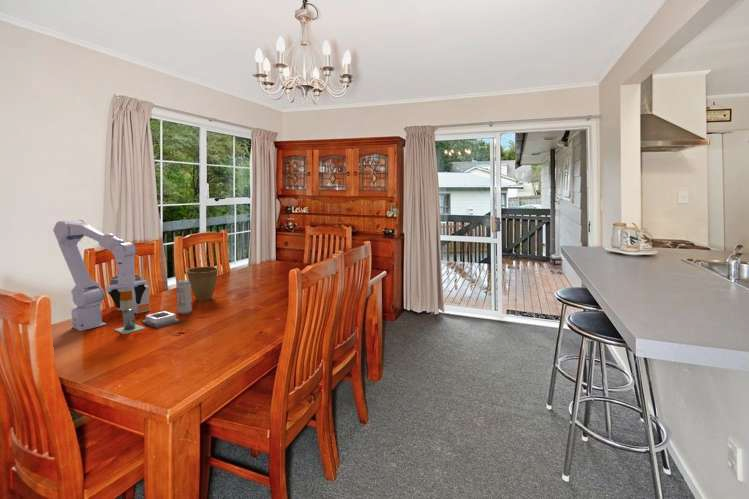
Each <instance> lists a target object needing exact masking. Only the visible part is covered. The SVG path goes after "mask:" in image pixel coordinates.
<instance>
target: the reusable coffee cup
mask: <svg viewBox="0 0 749 499" xmlns="http://www.w3.org/2000/svg"><path fill="white" fill-rule="evenodd" d="M135 281H142V278H141V275H138V274H135ZM109 282H110V283H109V284H110V285H114V284H118V275H116V276H113V277H110V281H109ZM110 285H109V286H110ZM118 291H119V292H120V308H116V310H117V311H120V310H121V312H123V311H122V310H123V309H126V308H133V304H132V288H126V289H120V290H118Z"/></svg>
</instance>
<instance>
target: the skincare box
mask: <svg viewBox="0 0 749 499" xmlns="http://www.w3.org/2000/svg"><path fill="white" fill-rule="evenodd" d="M145 286H146V289H145V291H144V293H143V295H142V298H141V303H140V304H137V303H136V295H135V290H134V287H132V304H133V308H134V314H142V313H146V312H150V311H151V307H150V306H151V305H150V300H151V299H150V287H149V286H148V285H145Z"/></svg>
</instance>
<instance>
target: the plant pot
mask: <svg viewBox="0 0 749 499" xmlns="http://www.w3.org/2000/svg"><path fill="white" fill-rule="evenodd" d="M218 271H219V268H217V267H215V266H198V267H192V268H188V269H186V274H187V277H188V280H189V282H190V284H191V292H192V293H193V295H194V297H195V299H196V301H200V302H201V301H209V300H211V299H212V298H213V295H214V292H215V288H216V285H217V284H216V283H217V278H218V273H219V272H218Z"/></svg>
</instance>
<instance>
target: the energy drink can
mask: <svg viewBox="0 0 749 499" xmlns="http://www.w3.org/2000/svg"><path fill="white" fill-rule="evenodd" d="M175 288H176V304H177V312H178V314H181V315H185V314H190V313H191V312H192V311H193V304H192V288H191V284H190V282H189V279H181V280H177V283H176V286H175Z"/></svg>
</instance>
